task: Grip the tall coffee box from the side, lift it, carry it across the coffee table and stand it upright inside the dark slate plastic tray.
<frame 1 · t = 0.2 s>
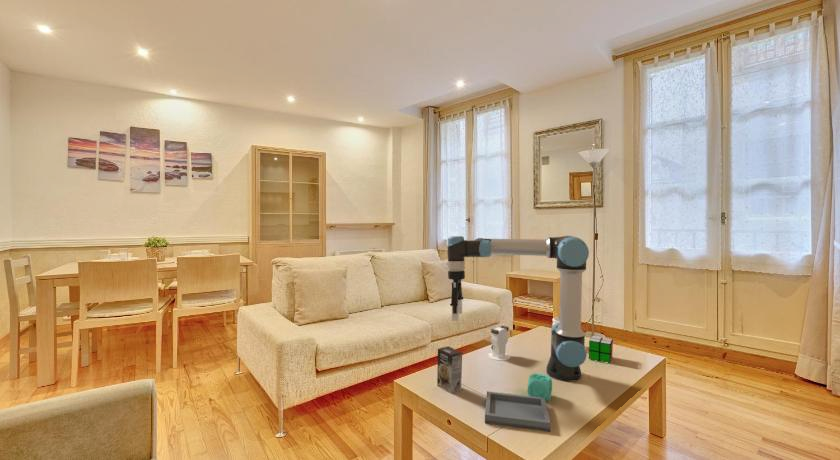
hand: (457, 317, 169), 27 cm above the table, tool pointing down, fingers open, 13 cm apart
tray: (515, 413, 138), on the table
puzzle cube: (600, 359, 193), on the table
decorative dice: (539, 397, 152), on the table
jar: (561, 346, 211), on the table
coffee box: (449, 387, 158), on the table
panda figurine: (499, 356, 194), on the table
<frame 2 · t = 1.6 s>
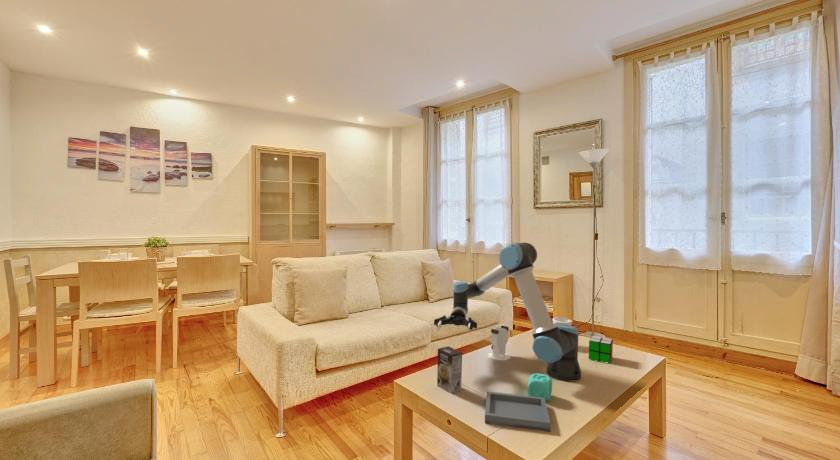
hand: (453, 329, 168), 22 cm above the table, tool horizontal, fingers open, 13 cm apart
nothing on the table moved.
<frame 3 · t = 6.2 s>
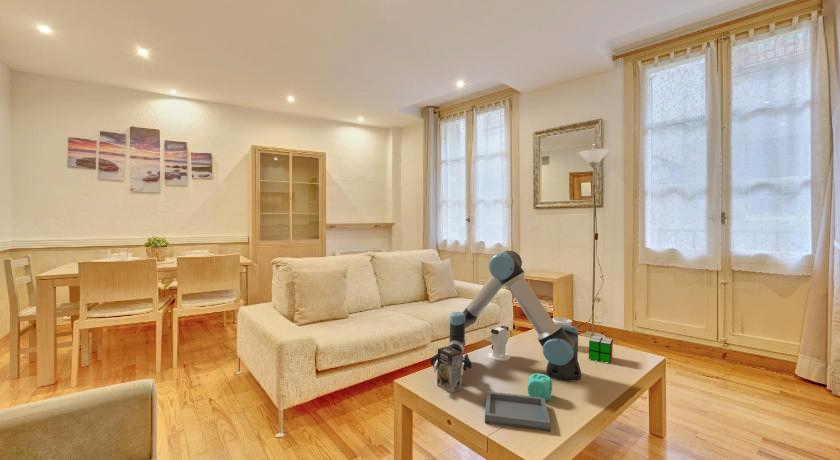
hand: (448, 370, 154), 9 cm above the table, tool horizontal, fingers closed on coffee box, 10 cm apart
coffee box: (449, 387, 158), on the table, touching gripper
everything else where it was.
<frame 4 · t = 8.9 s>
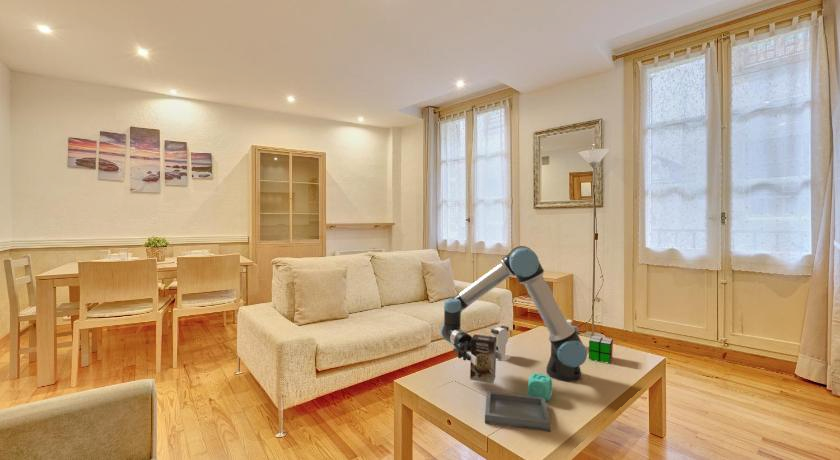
hand: (489, 359, 140), 19 cm above the table, tool horizontal, fingers closed on coffee box, 10 cm apart
coffee box: (482, 379, 144), point 10 cm above the table, touching gripper
everything else where it was.
when the fingers open (11 cm above the table, at t = 12.0 s): coffee box drops 1 cm, resting on tray.
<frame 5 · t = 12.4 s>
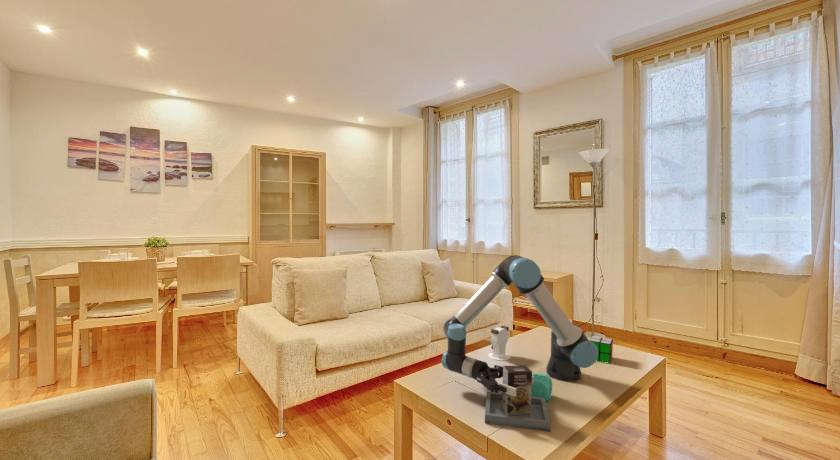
hand: (524, 386, 135), 11 cm above the table, tool horizontal, fingers open, 13 cm apart
coffee box: (516, 411, 138), point 1 cm above the table, touching tray
everything else where it was.
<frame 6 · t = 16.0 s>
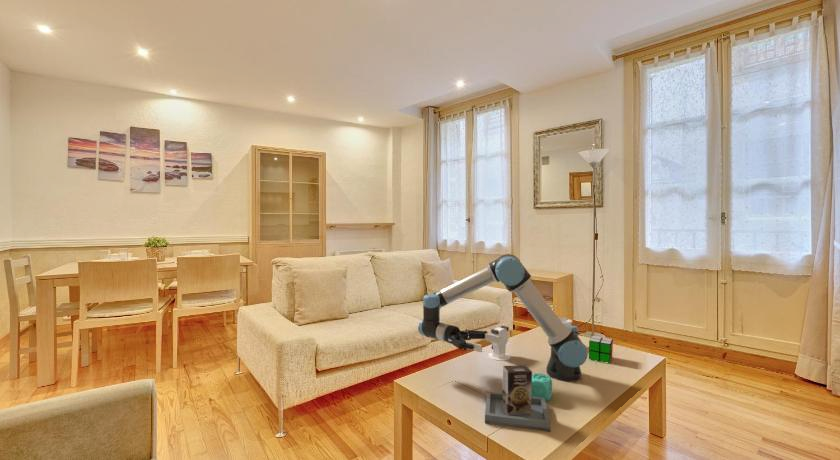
hand: (490, 344, 150), 21 cm above the table, tool horizontal, fingers open, 13 cm apart
nothing on the table moved.
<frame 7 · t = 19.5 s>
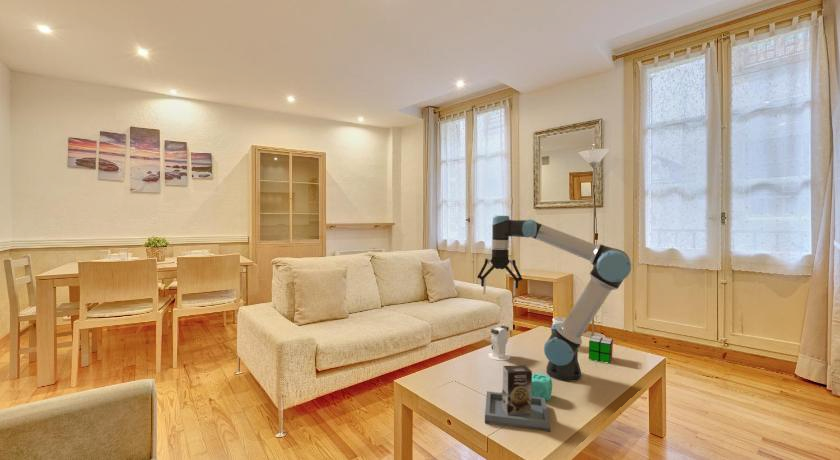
hand: (499, 294, 173), 37 cm above the table, tool pointing down, fingers open, 13 cm apart
nothing on the table moved.
at the end: coffee box inside the target area on the tray (0.1 cm from its centre), point 0.8 cm above the tray's base; coffee box tilted 0°; the gripper is holding nothing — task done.
